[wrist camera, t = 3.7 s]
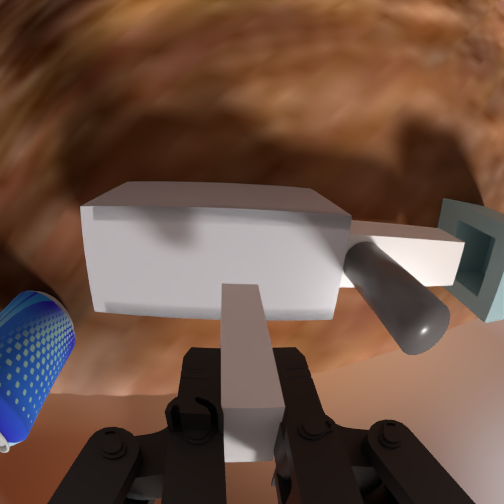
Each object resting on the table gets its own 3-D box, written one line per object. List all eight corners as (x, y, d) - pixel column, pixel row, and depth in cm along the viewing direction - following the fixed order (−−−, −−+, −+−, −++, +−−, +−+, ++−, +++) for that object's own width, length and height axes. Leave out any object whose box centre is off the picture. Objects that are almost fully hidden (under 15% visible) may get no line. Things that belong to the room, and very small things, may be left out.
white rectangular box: (127, 181, 23) (80, 206, 14) (310, 188, 24) (352, 215, 16) (131, 257, 25) (94, 311, 17) (301, 263, 26) (332, 319, 18)
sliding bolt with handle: (136, 210, 20) (56, 285, 9) (439, 228, 22) (534, 287, 12) (138, 258, 21) (77, 360, 11) (429, 267, 23) (513, 337, 13)
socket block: (443, 197, 25) (515, 229, 16) (484, 206, 26) (549, 236, 17) (426, 272, 28) (484, 322, 19) (468, 272, 29) (523, 315, 19)
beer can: (92, 346, 28) (37, 467, 13) (40, 351, 28) (-17, 450, 13) (58, 278, 25) (-34, 388, 10) (8, 291, 25) (-75, 380, 10)
